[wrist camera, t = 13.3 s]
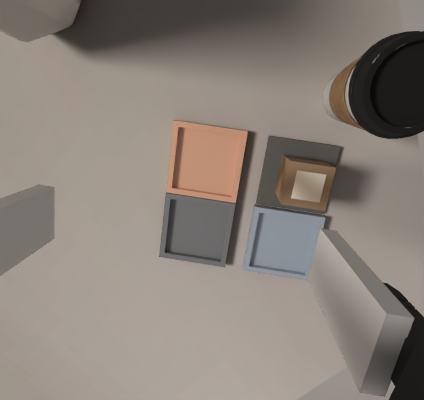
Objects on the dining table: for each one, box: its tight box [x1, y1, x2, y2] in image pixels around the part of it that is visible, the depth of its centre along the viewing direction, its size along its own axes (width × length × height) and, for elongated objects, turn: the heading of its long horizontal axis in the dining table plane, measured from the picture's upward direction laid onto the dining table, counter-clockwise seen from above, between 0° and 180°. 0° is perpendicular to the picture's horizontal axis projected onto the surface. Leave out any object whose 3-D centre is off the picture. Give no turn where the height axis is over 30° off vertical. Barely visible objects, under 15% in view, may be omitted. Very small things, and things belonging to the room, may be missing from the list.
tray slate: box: [243, 204, 326, 280], centre depth 43 cm, size 9×9×1 cm
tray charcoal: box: [159, 192, 236, 267], centre depth 43 cm, size 9×9×1 cm
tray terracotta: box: [166, 120, 248, 203], centre depth 40 cm, size 9×9×1 cm
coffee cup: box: [323, 31, 424, 139], centre depth 31 cm, size 8×8×15 cm
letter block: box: [275, 154, 336, 211], centre depth 37 cm, size 5×5×6 cm
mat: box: [256, 136, 340, 214], centre depth 40 cm, size 9×9×1 cm
